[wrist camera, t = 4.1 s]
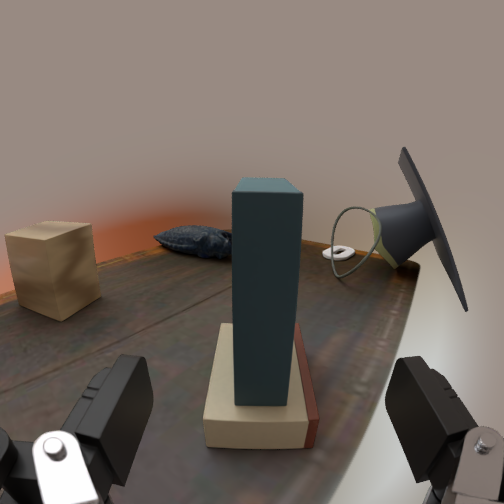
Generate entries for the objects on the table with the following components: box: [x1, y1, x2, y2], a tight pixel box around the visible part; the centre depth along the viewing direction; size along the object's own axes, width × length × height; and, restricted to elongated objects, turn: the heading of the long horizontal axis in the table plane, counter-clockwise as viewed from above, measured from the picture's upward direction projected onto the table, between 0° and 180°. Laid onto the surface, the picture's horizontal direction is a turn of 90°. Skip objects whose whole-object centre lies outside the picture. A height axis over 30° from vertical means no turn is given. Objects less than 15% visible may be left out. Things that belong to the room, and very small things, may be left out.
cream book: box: [203, 323, 319, 449], centre depth 23 cm, size 12×7×3 cm, turn 179°
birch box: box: [5, 221, 101, 322], centre depth 35 cm, size 8×10×10 cm
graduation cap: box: [370, 147, 468, 312], centre depth 48 cm, size 28×23×10 cm
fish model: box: [154, 225, 232, 259], centre depth 59 cm, size 7×21×5 cm, turn 54°
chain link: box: [323, 246, 355, 261], centre depth 59 cm, size 8×1×5 cm
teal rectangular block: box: [232, 178, 303, 406], centre depth 21 cm, size 3×9×13 cm, turn 179°
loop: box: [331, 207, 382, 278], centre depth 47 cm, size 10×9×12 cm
